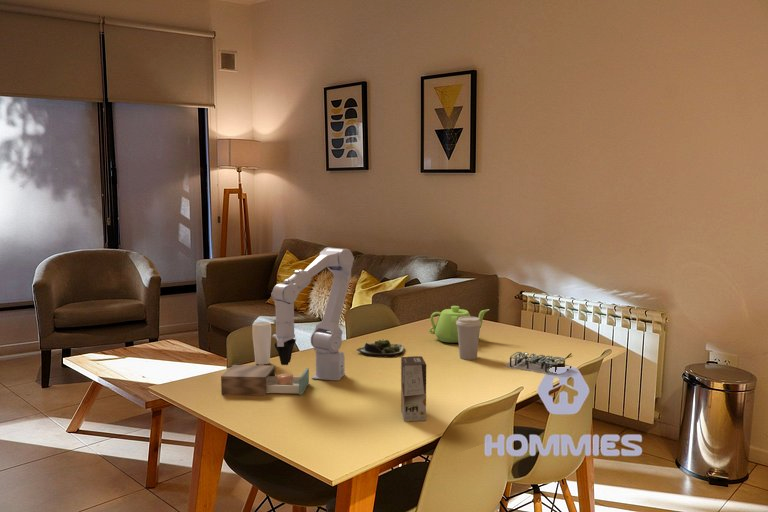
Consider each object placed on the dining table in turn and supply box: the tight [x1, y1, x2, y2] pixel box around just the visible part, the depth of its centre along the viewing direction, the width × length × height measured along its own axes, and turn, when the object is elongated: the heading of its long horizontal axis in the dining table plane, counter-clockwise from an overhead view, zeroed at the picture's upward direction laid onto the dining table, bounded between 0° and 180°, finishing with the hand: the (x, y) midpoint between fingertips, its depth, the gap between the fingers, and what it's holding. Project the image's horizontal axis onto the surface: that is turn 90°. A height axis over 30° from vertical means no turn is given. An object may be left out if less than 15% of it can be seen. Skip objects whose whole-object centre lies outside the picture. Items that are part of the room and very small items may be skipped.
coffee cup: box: [456, 315, 483, 361], centre depth 247 cm, size 10×10×15 cm
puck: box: [276, 373, 294, 385], centre depth 210 cm, size 5×5×4 cm
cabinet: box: [220, 364, 276, 396], centre depth 210 cm, size 14×13×6 cm
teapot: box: [428, 305, 490, 344], centre depth 275 cm, size 19×20×14 cm
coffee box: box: [400, 355, 427, 422], centre depth 185 cm, size 9×6×16 cm
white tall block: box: [251, 321, 272, 365], centre depth 239 cm, size 7×7×15 cm
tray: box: [266, 367, 310, 396], centre depth 210 cm, size 14×13×5 cm
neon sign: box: [504, 351, 572, 376], centre depth 241 cm, size 21×4×29 cm
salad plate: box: [356, 339, 405, 358], centre depth 258 cm, size 19×18×5 cm
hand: (285, 363), depth 209 cm, fingers open, 2 cm apart
